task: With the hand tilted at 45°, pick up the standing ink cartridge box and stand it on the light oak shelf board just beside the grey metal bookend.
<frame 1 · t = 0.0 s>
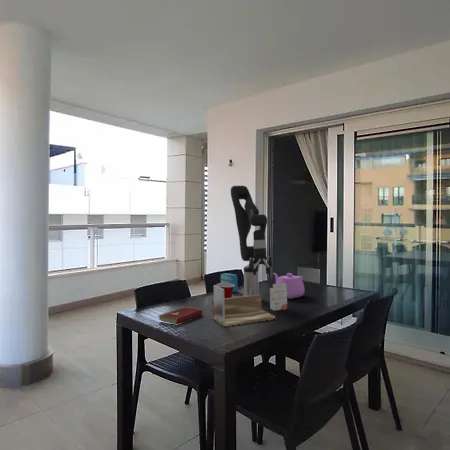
hand: (261, 274, 217), 17 cm above the table, tool pointing down, fingers open, 8 cm apart
hardcover book: (181, 320, 187), on the table
plastic cup: (226, 304, 217), on the table
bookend: (219, 322, 180), resting on shelf board
data package: (229, 291, 254), on the table
ink cartridge box: (278, 309, 203), on the table
teapot: (288, 296, 234), on the table
shelf board: (243, 318, 185), on the table
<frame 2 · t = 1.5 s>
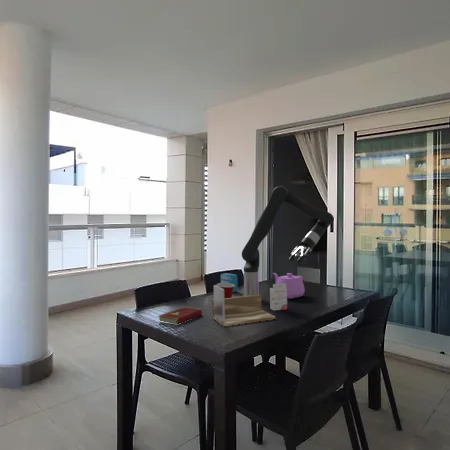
hand: (293, 261, 206), 26 cm above the table, tool tilted 45°, fingers open, 8 cm apart
nothing on the table moved.
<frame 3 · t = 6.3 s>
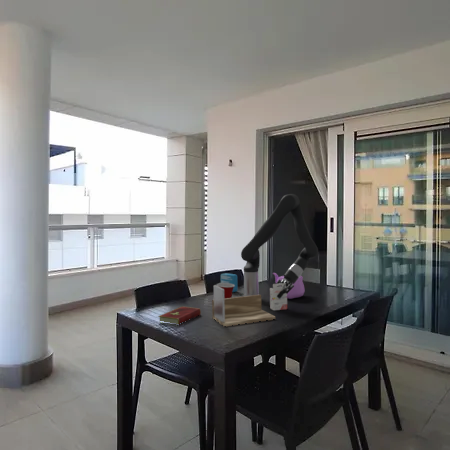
hand: (275, 296, 202), 7 cm above the table, tool tilted 45°, fingers closed on ink cartridge box, 5 cm apart
ink cartridge box: (278, 309, 203), on the table, touching gripper
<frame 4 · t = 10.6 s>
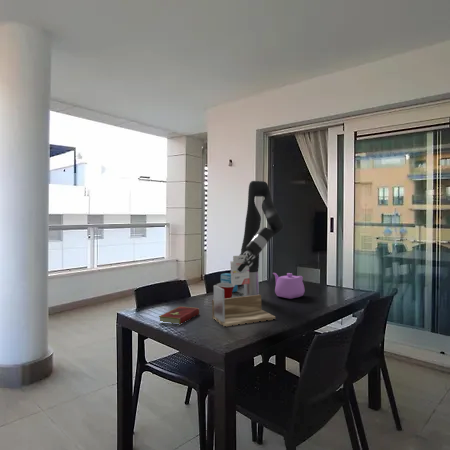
hand: (236, 269, 184), 25 cm above the table, tool tilted 45°, fingers closed on ink cartridge box, 5 cm apart
ink cartridge box: (240, 284, 185), point 18 cm above the table, touching gripper
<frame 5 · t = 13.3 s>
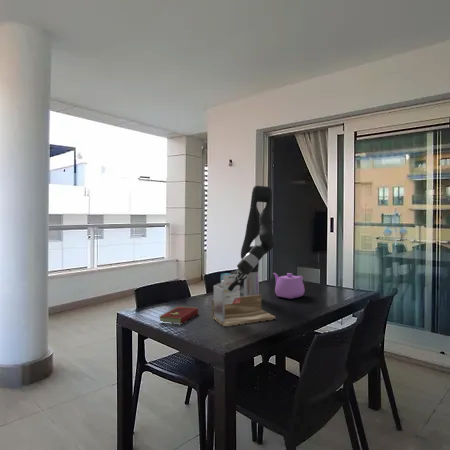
hand: (227, 289, 181), 16 cm above the table, tool tilted 45°, fingers closed on ink cartridge box, 5 cm apart
ink cartridge box: (230, 303, 182), point 9 cm above the table, touching gripper
when the fingers open (10 cm above the table, at t = 15.3 s): ink cartridge box drops 1 cm, resting on shelf board.
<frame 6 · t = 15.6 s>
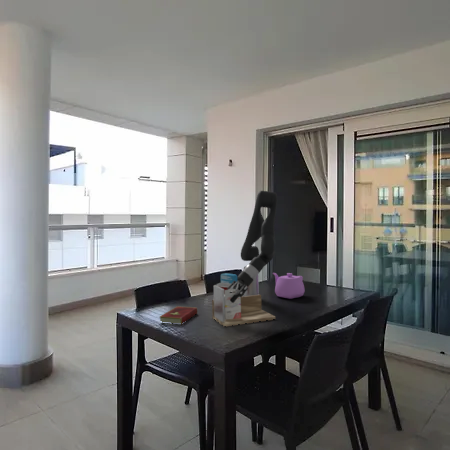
hand: (228, 299, 181), 11 cm above the table, tool tilted 45°, fingers open, 8 cm apart
ink cartridge box: (231, 318, 182), point 1 cm above the table, touching shelf board
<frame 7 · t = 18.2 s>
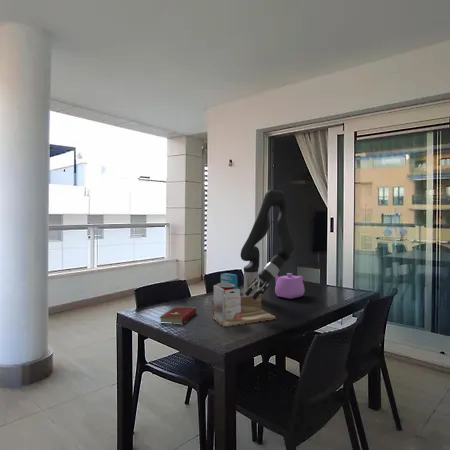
hand: (249, 296, 186), 11 cm above the table, tool tilted 45°, fingers open, 8 cm apart
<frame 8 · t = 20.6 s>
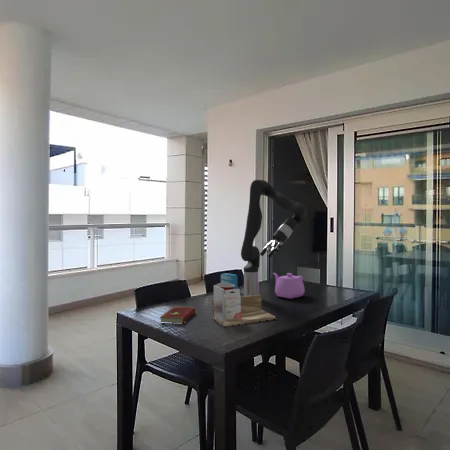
hand: (264, 255, 197), 31 cm above the table, tool tilted 45°, fingers open, 8 cm apart
at the end: ink cartridge box inside the target area on the shelf board (0.4 cm from its centre), point 1.3 cm above the shelf board's base; ink cartridge box tilted 0°; the gripper is holding nothing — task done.
